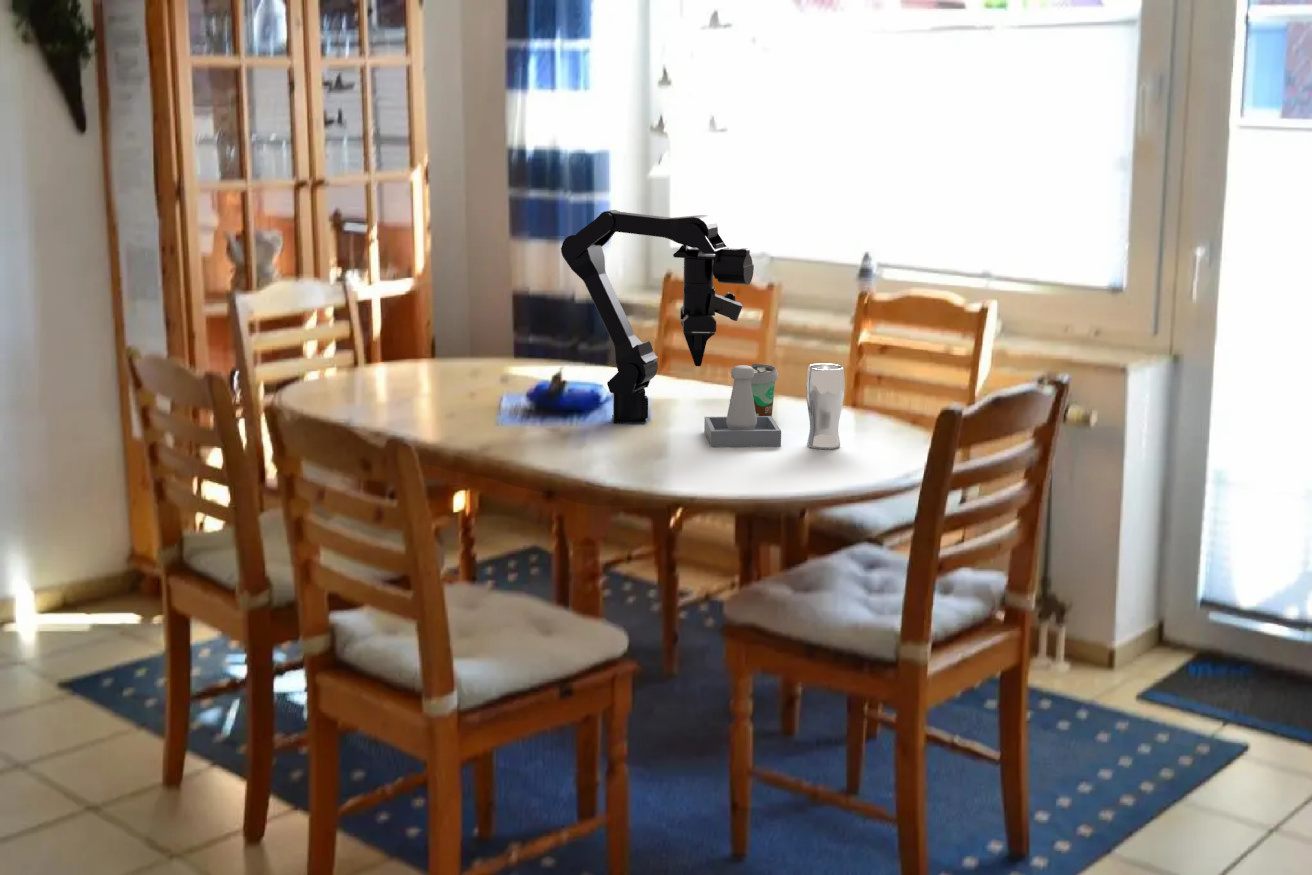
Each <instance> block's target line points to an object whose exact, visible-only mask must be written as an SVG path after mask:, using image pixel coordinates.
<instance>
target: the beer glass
mask: <svg viewBox="0 0 1312 875" xmlns="http://www.w3.org/2000/svg"><path fill="white" fill-rule="evenodd" d="M844 370H845V368H844V366H843V365H840V364H835V363H813V364H809V365H808V366H807V375H806V385H805V386H806V390H805V391H806V394H805V395H806V404H807V405H806V406H807V412H808V418H809V434H808V438H807V442H806V445H807V447H808V448H810V449H814V450H822V451H823V450H835V449H836V450H837V449H839V448H840V447H841V442H840V440H841V439H840V435H839V433H840V432H839V427H840V425H839V424H840V419H841V414H842V409H843V403H844V398H845V374H844V373H845V372H844Z"/></svg>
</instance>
